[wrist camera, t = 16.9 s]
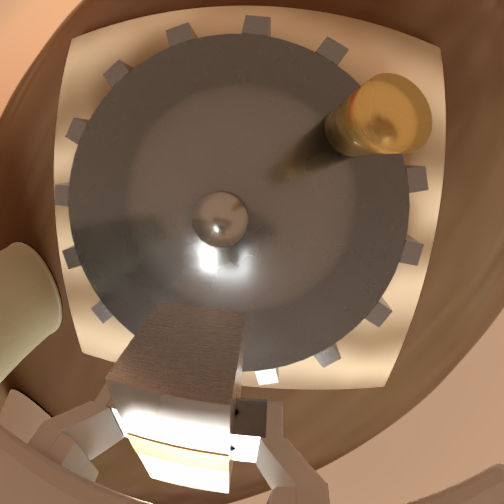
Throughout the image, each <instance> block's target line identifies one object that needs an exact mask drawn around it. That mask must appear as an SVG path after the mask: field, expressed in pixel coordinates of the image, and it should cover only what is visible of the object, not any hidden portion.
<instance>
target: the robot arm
mask: <svg viewBox="0 0 504 504" xmlns="http://www.w3.org/2000/svg"><path fill="white" fill-rule="evenodd" d="M123 436H124V437H127V438H128V436H127V431H126V429H125V427H124V425H123V423H122V421H121V418H120V416H119V414H118V411H117V409H116V407H115V404H114V402H113V399H112V397H111V394H110V392H109V389H108V386H107V384H105V386H104V387H103V389H102V390H101V392H100V393H99V395H98V396H97V398H96V399H95V401H94V402H93V401H89V402H87V403H84V404H82V405H80V406H78V407H76V408H73V409H71V410H69V411H66V412H64V413H62V414H59V415H57V416H55V417H52V418H51V417H50V416H49V415H48V414H47V413H46V412H45V411H44V410H42V409H41V408H40V407H39V406H38V405H37V404H35V403H34V402H33V401H32V400H30V399H29V398H28V397H26V396H25V395H23V394H22V393H20V392H19V391H17V390H14V389H11V390H10V391H9V394H8V396H7V399H6V401H5V403H4V405H3V407H2V409H1V410H0V504H152V503H148V502H145V501H142V500H139V499H136V498H133V497H130V496H127V495H125V494H122V493H119V492H117V491H114V490H112V489H109V488H107V487H104V486H102V485H100V484H97V483H95V480H96V478H97V475H98V473H99V472H98V470H97V468H96V467H95V466H94V465H93V464H92V462H91V461H90V460H92V459H93V458H95V457H96V456H98V455H99V454H101V453H102V452H104V451H105V450H107V449H108V448H110V447H111V446H113V445H114V444H116V443H117V442H118V441H120V440H121V439H123V438H124V437H123ZM231 460H236V461H245V462H255V463H256V465H257V467H258V468H259V470H260V472H261V473H262V475H263V476H264V478H265V479H266V481H267V483H268V484H269V486H270V487H271V489H272V492H271V494H270V497H269V499H268V501H267V504H330V502H329V491H328V484H327V483H326V482H325V481H324V480H323V479H322V478H321V477H320V476H319V475H318V473H317V472H316V471H315V470H314V469H313V468H312V467H311V466H310V464H309V463H308V462H307V461H306V460H305V459H304V458H303V456H302V455H301V454H300V453H299V452H298V451H297V449H296V448H295V447H294V446H293V445H292V444H291V442H290V441H289V440H288V439H283V404H282V401H274V400H267V401H266V400H261V399H247V398H238V399H237V404H236V416H235V418H234V424H233V431H232V450H231ZM405 504H504V465H503V464H495V465H493V466H491V467H489V468H487V469H485V470H484V471H482V472H480V473H478V474H476V475H474V476H472V477H470V478H468V479H467V480H464V481H462V482H460V483H458V484H456V485H454V486H451V487H449V488H447V489H444V490H442V491H439V492H437V493H434V494H432V495H429V496H426V497H423V498H420V499H418V500H415V501H411V502H408V503H405Z"/></svg>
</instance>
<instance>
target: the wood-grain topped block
mask: <svg viewBox="0 0 504 504" xmlns="http://www.w3.org/2000/svg"><path fill="white" fill-rule="evenodd" d="M245 323H246V312H240V311H231V310H221V309H212V308H204V307H196V306H188V305H180V304H173V303H166V302H159V303H158V304H157V306H156V307H155V308H154V310H153V311H152V312H151V314H150V315H149V317H148V318H147V319H146V321H145V322H144V323H143V325H142V326H141V327H140V329H139V330H138V332H137V333H136V334H135V336H134V337H133V339H132V340H131V341H130V343H129V344H128V346H127V347H126V348H125V350H124V351H123V353H122V354H121V355H120V357H119V358H118V360H117V361H116V363H115V364H114V365H113V367H112V368H111V370H110V371H109V373H108V374H107V376H106V377H105V381H106V384H107V386H108V389H109V392H110V394H111V397H112V399H113V402H114V404H115V407H116V409H117V411H118V414H119V416H120V418H121V421H122V423H123V425H124V427H125V429H126V431H127V436H128V438H129V440H130V442H131V444H132V446H133V448H134V450H135V452H136V453H138V455H139V457H140V459H141V461H142V463H143V464H144V466H145V468H146V470H147V471H148V473H149V475H150V476H151V478H154V479H157V480H161V481H165V482H169V483H173V484H177V485H182V486H186V487H191V488H197V489H202V490H208V491H214V492H222V493H229V487H230V480H231V473H232V466H233V460H231V450H232V431H233V424H234V418H235V416H236V404H237V399H238V398H240V395H241V381H242V366H243V352H244V337H245Z"/></svg>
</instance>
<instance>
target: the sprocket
mask: <svg viewBox="0 0 504 504" xmlns="http://www.w3.org/2000/svg"><path fill="white" fill-rule="evenodd" d="M166 34H167V39H168V44H169V48H168V49H165V50H163V51H161V52H159V53H157V54H155V55H154V56H152V57H150V58H149V59H147V60H145V61H144V62H142V63H141V64H139V65H138V66H136V67H135V68H133V67H131V66H130V65H128V64H126V63H125V62H123V61H122V60H120V59H119V60H118V61H117V62H116V63H115V64H113V65H112V66H111V67H110V68H109V69H108V70H107V71H106V72H105V73H104V74H103V76H104V77H105V79H106V80H107V81H108V83H109V84H110V86H111V87H112V89H111V90H110V91H109V93H108V94H107V95H106V96H105V97H104V98H103V100H102V101H101V103H100V104H99V106H98V107H97V108H96V110H95V111H94V113H93V114H92V116H91V118H90V120H88V119H82V118H75V117H73V120H72V122H71V124H70V127H69V129H68V131H67V134H66V136H65V137H66V138H68V139H69V140H71V141H73V142H74V143H76V144H78V147H77V149H76V152H75V156H74V160H73V164H72V169H71V174H70V181H69V182H66V183H61V184H55V204H54V205H59V206H67V207H69V221H70V228H71V234H72V239H73V242H74V245H73V246H71V247H69V248H67V249H65V250H63V251H62V253H63V255H64V258H65V261H66V264H67V267H68V269H72V268H75V267H79V266H82V268H83V271H84V273H85V275H86V277H87V279H88V281H89V283H90V284H91V286H92V288H93V290H94V291H95V293H96V294H97V296H98V297H99V298H100V301H99V302H98V303H97V304H96V305H94V306H93V307H92V308H91V310H92V311H93V312H94V313H95V315H96V316H97V317H98V318H99V319H100V321H101V322H102V323H105V322H106V321H107V320H108V319H110V318H111V317H112V316H114V317H115V318H116V319H117V320H118V321H119V322H120V323H121V324H122V325H123V326H124V327H125V328H127V329H128V330H129V331H130V332H131V333H132V334H134V335H135V334H136V333H137V332H138V330H139V329H140V327H141V326H142V325H143V323H144V322H145V321H146V319H147V318H148V317H149V315H150V314H151V312H152V311H153V310H154V308H155V307H156V306H157V304H158V303H159V302H166V303H173V304H180V305H188V306H196V307H204V308H212V309H221V310H231V311H240V312H246V323H245V337H244V352H243V366H242V372H248V371H255V374H256V377H257V380H258V383H259V385H263V384H271V383H278V382H279V369H278V367H283V366H287V365H290V364H293V363H296V362H299V361H302V360H305V359H307V358H309V357H311V356H313V355H314V357H315V358H316V359H317V361H318V362H319V363H320V365H321V366H322V367H323V368H324V367H326V366H328V365H330V364H332V363H334V362H335V361H337V360H339V359H341V356H340V353H339V350H338V347H337V344H336V342H338V341H339V340H341V339H342V338H343V337H344V336H346V335H347V334H348V333H349V332H351V331H352V330H353V329H354V328H355V327H357V326H358V325H359V324H360V322H361V321H362V320H363V319H364V318H365V319H366V320H367V321H369V322H371V323H372V324H374V325H376V326H377V327H380V326H381V325H382V324H383V322H384V321H385V320H386V319H387V318H388V317H389V315H390V314H391V313H392V312H393V311H392V309H391V308H390V307H389V305H388V304H387V303H386V301H385V300H384V299H383V298H382V295H383V294H384V293H385V291H386V289H387V287H388V285H389V283H390V282H391V280H392V278H393V276H394V274H395V272H396V269H397V266H398V264H399V262H400V263H405V264H410V265H415V266H418V263H419V260H420V256H421V253H422V250H423V246H424V244H423V243H421V242H419V241H418V240H416V239H414V238H412V237H411V236H409V235H407V231H408V222H409V208H410V202H409V193H413V192H419V191H425V190H429V189H428V181H427V173H426V166H415V165H405V164H404V160H403V156H402V153H410V152H414V151H416V150H418V149H420V148H421V147H422V146H424V144H425V143H426V142H427V140H428V139H429V136H430V134H431V130H432V114H431V109H430V106H429V104H428V101H427V99H426V98H425V96H424V94H423V93H422V92H421V90H420V89H419V88H418V87H417V86H416V85H415V84H414V83H413V82H411V81H410V80H408V79H407V78H405V77H403V76H401V75H398V74H394V73H381V74H377V75H375V76H373V77H372V78H370V79H369V80H368V81H366V82H365V83H364V84H363V85H362V86H361V85H360V84H359V83H358V82H357V81H355V80H354V79H353V78H352V77H351V76H350V75H349V74H348V73H347V72H345V71H344V70H343V69H341V68H340V67H338V64H339V63H340V62H341V60H342V59H343V57H344V56H345V55H346V53H347V52H348V50H349V49H348V48H346V47H345V46H343V45H341V44H340V43H338V42H337V41H335V40H333V39H331V38H330V37H328V36H327V37H326V38H325V40H324V41H323V42H322V44H321V45H320V46H319V48H318V49H317V50H316V52H314V51H312V50H310V49H308V48H305V47H303V46H300V45H298V44H295V43H292V42H289V41H285V40H282V39H279V38H274V37H270V36H271V17H263V16H252V15H246V16H245V20H244V24H243V28H242V34H221V35H212V36H205V37H201V38H198V37H197V35H196V33H195V32H194V30H193V29H192V27H191V25H190V24H189V22H188V23H185V24H182V25H179V26H176V27H173V28H171V29H168V30H166Z"/></svg>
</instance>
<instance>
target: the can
mask: <svg viewBox="0 0 504 504" xmlns="http://www.w3.org/2000/svg"><path fill="white" fill-rule="evenodd" d="M61 321H62V304H61V298H60V294H59V291H58V288H57V285H56V283H55V280H54V278H53V276H52V274H51V272H50V270H49V268H48V267H47V265H46V263H45V262H44V261H43V259H42V258H41V257H40V255H39V254H38V253H37V252H36V251H35V250H34V249H33V248H31V247H30V246H28V245H27V244H24V243H22V242H15V243H12V244H10V245H9V246H8V247H7V248H5V249H3V250H1V251H0V383H1V382H2V381H3V379H4V378H5V377H6V376H7V375H8V374H9V373H10V372H11V371H12V370H13V369H14V368H15V367H16V366H17V365H18V364H19V363H20V362H21V361H22V360H23V359H24V358H25V357H26V356H27V355H28V354H29V353H30V352H31V351H32V350H33V349H34V348H35V347H36V346H37V345H38V344H39V343H41V342H42V341H43V340H44V339H45V338H46V337H47V336H49V335H50V334H51V333H54V332H55V331H56V330H57V329H58V328H59V326H60V324H61Z"/></svg>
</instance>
